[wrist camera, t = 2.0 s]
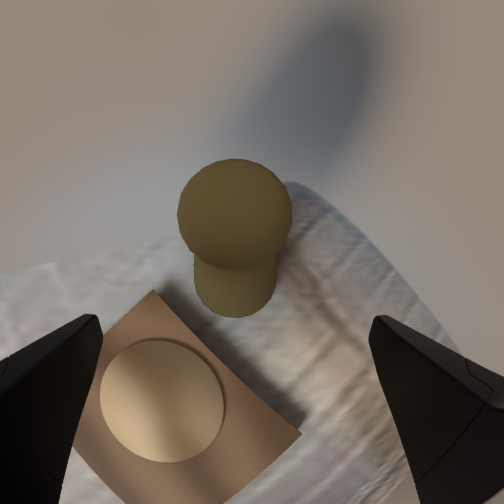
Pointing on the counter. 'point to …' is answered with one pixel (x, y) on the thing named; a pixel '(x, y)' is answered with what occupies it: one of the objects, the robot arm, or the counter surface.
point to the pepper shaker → (234, 233)
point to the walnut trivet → (173, 416)
